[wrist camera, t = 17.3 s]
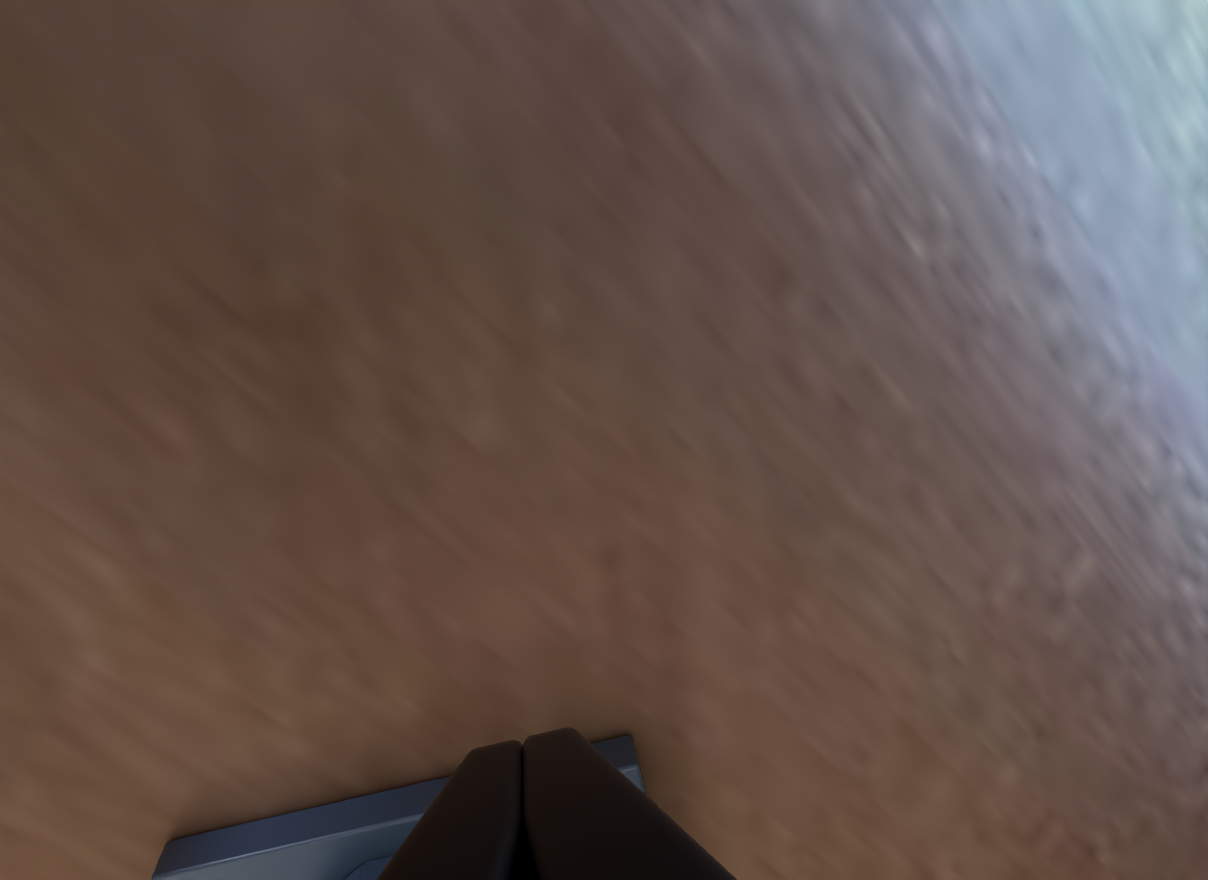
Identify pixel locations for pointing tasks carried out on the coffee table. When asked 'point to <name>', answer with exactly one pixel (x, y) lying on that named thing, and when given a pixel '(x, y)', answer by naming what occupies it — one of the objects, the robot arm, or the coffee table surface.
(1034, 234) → the coffee table surface
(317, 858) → the grey button base
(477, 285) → the coffee table surface
